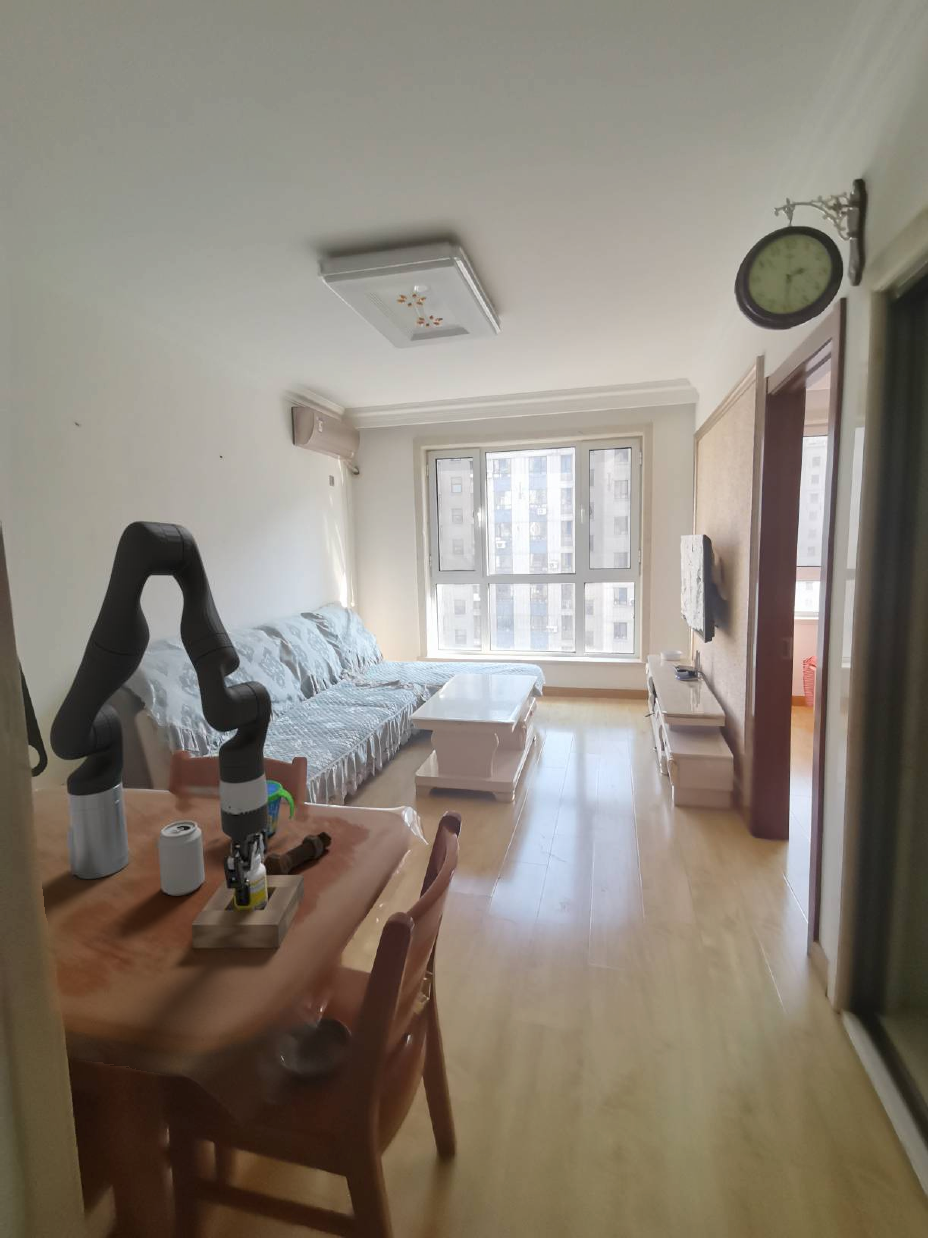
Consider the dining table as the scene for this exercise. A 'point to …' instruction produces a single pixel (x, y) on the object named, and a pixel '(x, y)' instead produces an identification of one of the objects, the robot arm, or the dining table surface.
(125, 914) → the dining table surface
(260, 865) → the supplement bottle
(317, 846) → the bolt
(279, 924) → the socket block
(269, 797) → the snack cup
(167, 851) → the can
